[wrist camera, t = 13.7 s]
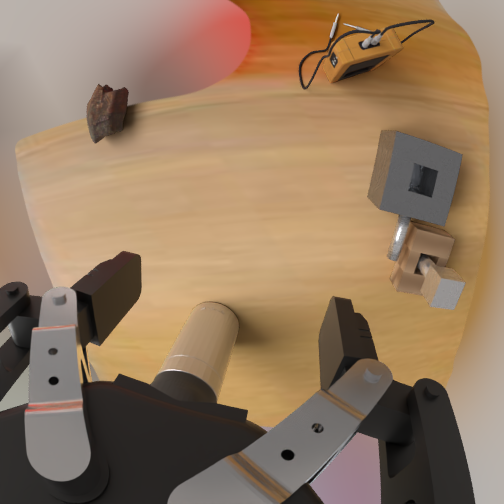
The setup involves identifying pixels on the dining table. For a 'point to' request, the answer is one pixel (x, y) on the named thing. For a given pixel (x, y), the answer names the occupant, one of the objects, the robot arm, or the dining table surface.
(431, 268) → the grey square peg
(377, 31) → the multimeter
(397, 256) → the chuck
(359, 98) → the dining table surface
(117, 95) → the rough brown rock chunk
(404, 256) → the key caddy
